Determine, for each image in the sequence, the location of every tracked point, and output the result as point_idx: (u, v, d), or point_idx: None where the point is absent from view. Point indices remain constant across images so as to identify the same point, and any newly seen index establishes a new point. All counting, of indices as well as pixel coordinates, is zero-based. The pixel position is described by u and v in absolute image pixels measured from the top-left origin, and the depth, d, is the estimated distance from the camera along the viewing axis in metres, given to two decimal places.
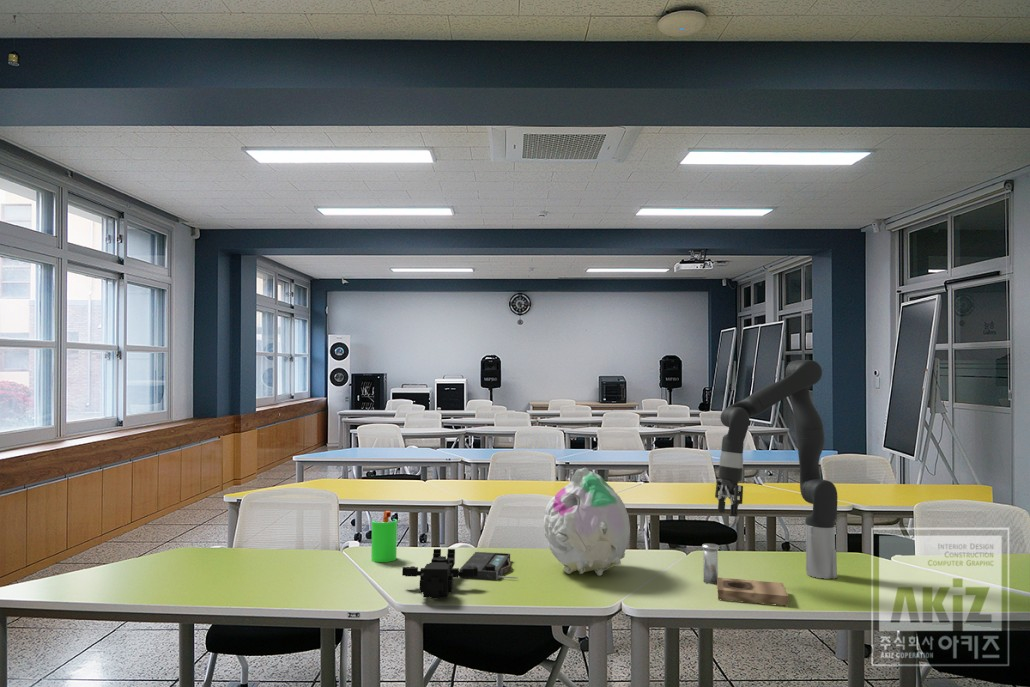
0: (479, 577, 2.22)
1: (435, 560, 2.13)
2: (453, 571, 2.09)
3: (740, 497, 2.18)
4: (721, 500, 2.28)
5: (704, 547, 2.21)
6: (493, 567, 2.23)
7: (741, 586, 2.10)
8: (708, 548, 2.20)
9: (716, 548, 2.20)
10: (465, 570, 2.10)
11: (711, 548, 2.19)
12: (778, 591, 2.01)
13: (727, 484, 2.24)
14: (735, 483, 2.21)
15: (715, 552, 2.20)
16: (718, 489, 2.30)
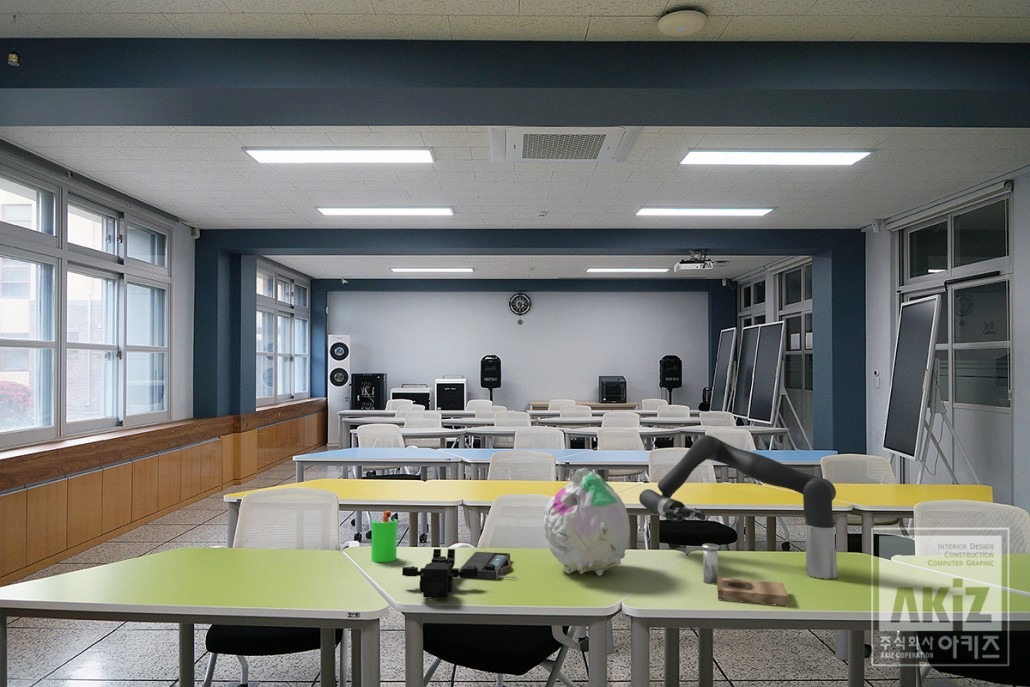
0: (479, 577, 2.22)
1: (435, 560, 2.13)
2: (453, 571, 2.09)
3: (667, 512, 2.38)
4: (697, 516, 2.38)
5: (704, 547, 2.21)
6: (493, 567, 2.24)
7: (741, 586, 2.10)
8: (708, 548, 2.20)
9: (716, 548, 2.20)
10: (465, 570, 2.10)
11: (711, 548, 2.19)
12: (778, 591, 2.01)
13: None
14: None
15: (715, 552, 2.20)
16: (697, 515, 2.42)
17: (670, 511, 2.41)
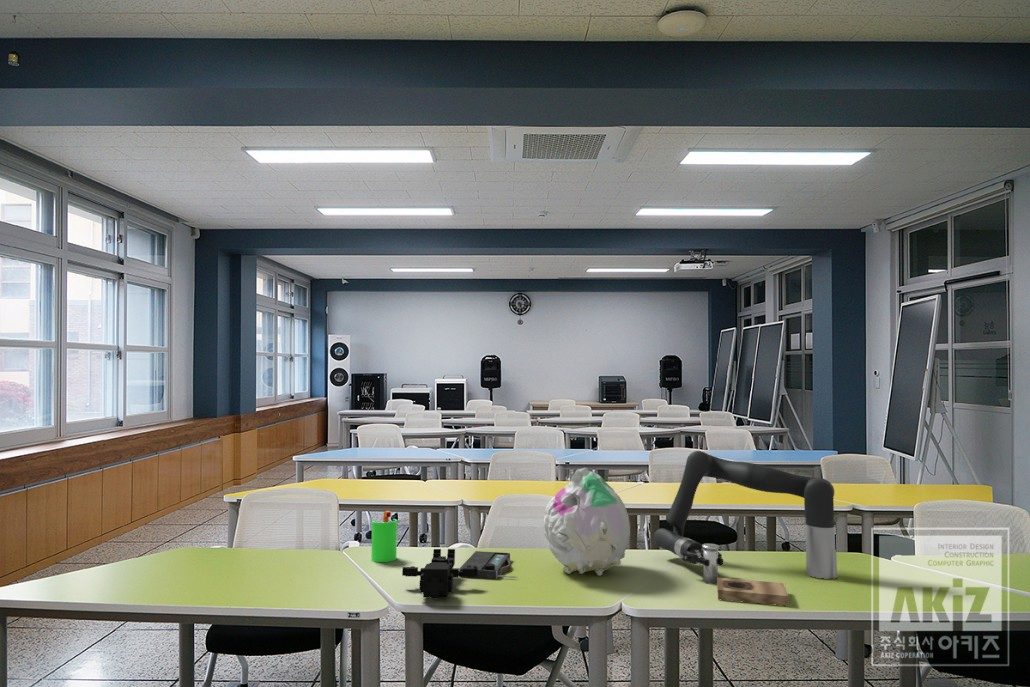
0: (479, 576, 2.23)
1: (435, 560, 2.13)
2: (453, 571, 2.09)
3: None
4: None
5: (704, 547, 2.21)
6: (493, 566, 2.24)
7: (741, 586, 2.10)
8: (708, 548, 2.20)
9: (716, 548, 2.20)
10: (465, 570, 2.10)
11: (711, 548, 2.19)
12: (778, 591, 2.01)
13: None
14: None
15: (715, 552, 2.20)
16: None
17: (689, 554, 2.27)
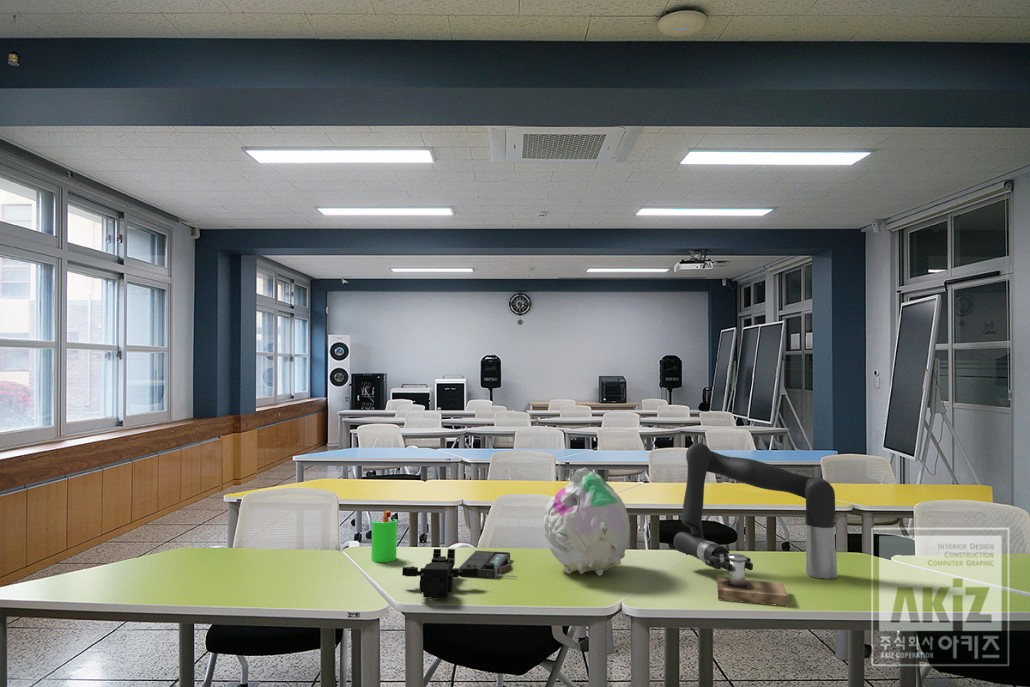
0: (478, 575, 2.24)
1: (435, 560, 2.13)
2: (453, 571, 2.09)
3: None
4: None
5: (731, 558, 2.07)
6: (492, 566, 2.25)
7: None
8: (735, 559, 2.06)
9: (744, 559, 2.06)
10: (465, 570, 2.10)
11: (738, 559, 2.06)
12: (778, 591, 2.01)
13: None
14: None
15: (742, 563, 2.06)
16: None
17: (713, 558, 2.14)
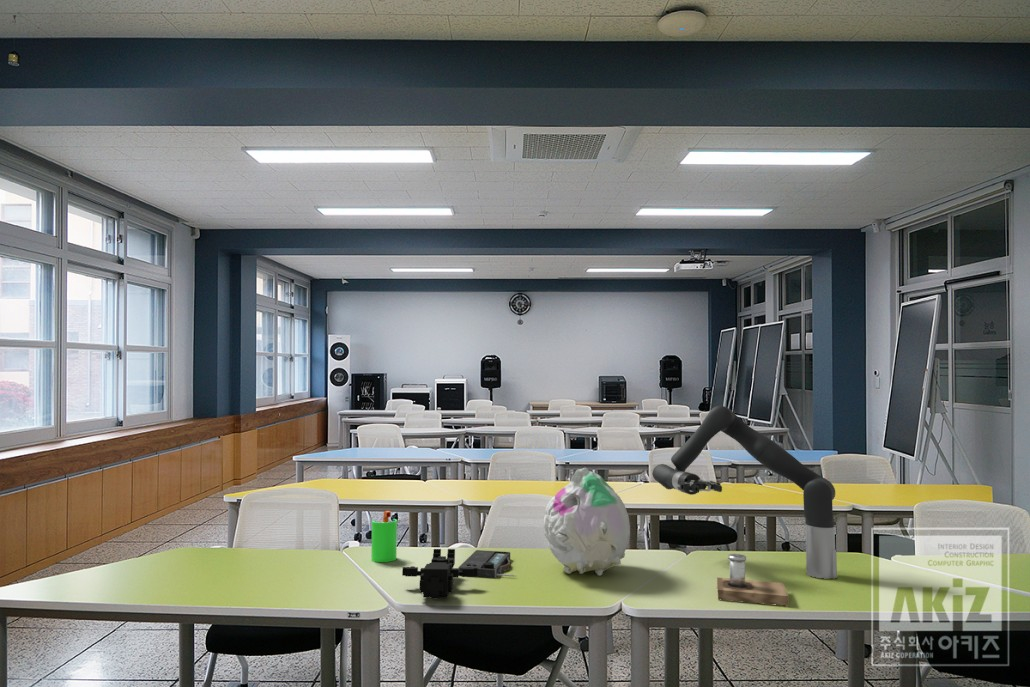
0: (478, 575, 2.24)
1: (435, 560, 2.13)
2: (453, 571, 2.09)
3: None
4: (714, 488, 2.32)
5: (730, 558, 2.07)
6: (492, 565, 2.26)
7: None
8: (735, 559, 2.06)
9: (743, 559, 2.06)
10: (465, 570, 2.10)
11: (738, 559, 2.06)
12: (778, 591, 2.01)
13: None
14: None
15: (742, 563, 2.06)
16: (713, 488, 2.36)
17: (685, 484, 2.35)
